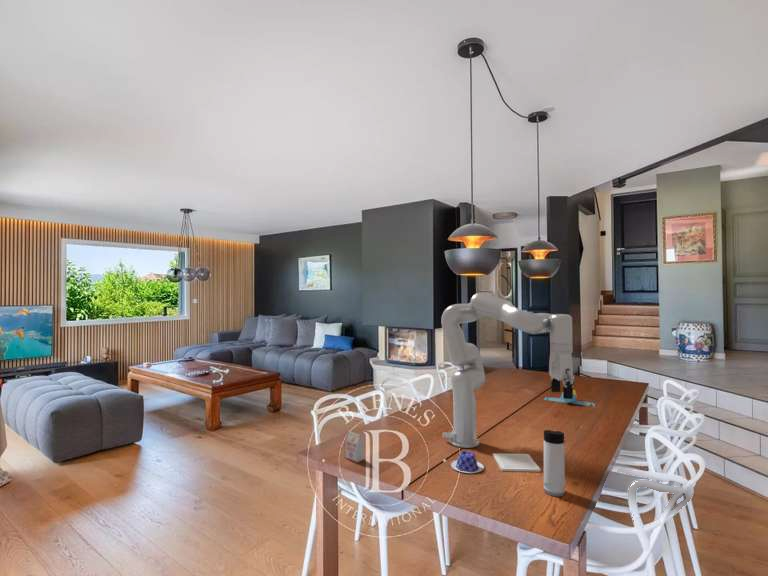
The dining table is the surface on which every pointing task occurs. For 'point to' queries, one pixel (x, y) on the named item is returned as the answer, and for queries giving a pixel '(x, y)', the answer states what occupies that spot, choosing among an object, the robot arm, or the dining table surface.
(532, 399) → the dining table surface
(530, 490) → the dining table surface
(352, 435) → the small printed carton
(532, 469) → the plate
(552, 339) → the robot arm
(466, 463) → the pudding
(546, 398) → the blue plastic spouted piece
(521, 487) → the dining table surface
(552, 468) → the travel mug
